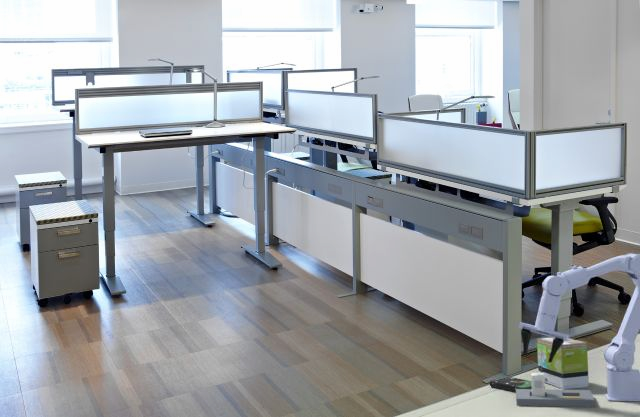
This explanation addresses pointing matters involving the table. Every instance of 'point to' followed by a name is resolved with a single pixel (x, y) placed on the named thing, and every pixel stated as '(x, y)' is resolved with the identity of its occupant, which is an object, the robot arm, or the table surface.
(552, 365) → the tea box
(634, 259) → the robot arm
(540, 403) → the panel
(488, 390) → the table surface
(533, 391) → the plug
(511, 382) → the disk drive
